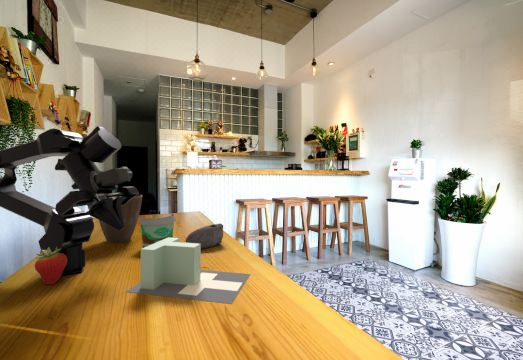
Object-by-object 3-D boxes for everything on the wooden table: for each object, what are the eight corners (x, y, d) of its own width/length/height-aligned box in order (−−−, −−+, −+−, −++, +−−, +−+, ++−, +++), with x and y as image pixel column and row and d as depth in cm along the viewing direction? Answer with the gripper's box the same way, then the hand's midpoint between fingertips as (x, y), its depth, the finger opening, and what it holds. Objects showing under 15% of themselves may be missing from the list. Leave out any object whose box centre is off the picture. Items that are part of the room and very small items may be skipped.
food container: (148, 252, 75) (148, 219, 75) (138, 249, 79) (138, 217, 79) (183, 244, 85) (183, 214, 85) (173, 241, 89) (173, 213, 89)
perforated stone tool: (190, 254, 75) (190, 231, 75) (180, 250, 78) (180, 228, 78) (228, 244, 86) (228, 224, 86) (218, 241, 90) (218, 222, 89)
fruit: (35, 282, 54) (35, 245, 54) (66, 276, 57) (66, 241, 57) (34, 291, 50) (33, 251, 50) (68, 284, 53) (67, 246, 53)
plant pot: (151, 239, 92) (151, 195, 92) (108, 248, 79) (108, 198, 79) (128, 233, 100) (128, 193, 99) (85, 242, 87) (85, 196, 87)
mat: (124, 293, 49) (124, 291, 49) (165, 267, 63) (165, 266, 63) (231, 305, 45) (231, 303, 45) (250, 275, 59) (250, 274, 59)
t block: (140, 288, 51) (140, 249, 51) (168, 270, 61) (168, 237, 61) (185, 293, 49) (186, 252, 49) (206, 273, 59) (207, 239, 59)
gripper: (73, 150, 49) (116, 216, 48) (136, 156, 67) (169, 203, 66) (36, 184, 51) (77, 248, 50) (107, 181, 69) (139, 227, 68)
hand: (122, 228), depth 58 cm, fingers closed
